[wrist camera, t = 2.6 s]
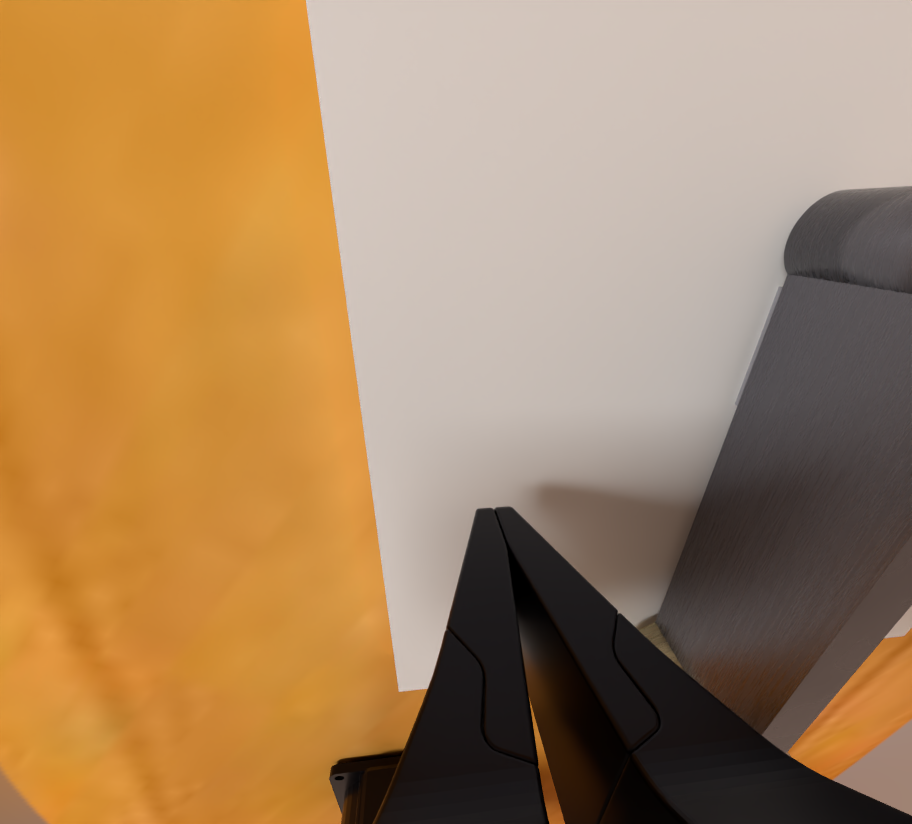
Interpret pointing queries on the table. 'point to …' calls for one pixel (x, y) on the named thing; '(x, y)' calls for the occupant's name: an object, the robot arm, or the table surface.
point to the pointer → (809, 481)
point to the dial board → (578, 256)
